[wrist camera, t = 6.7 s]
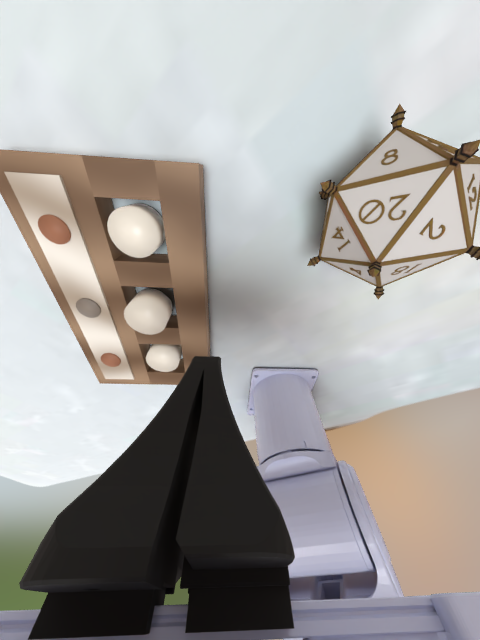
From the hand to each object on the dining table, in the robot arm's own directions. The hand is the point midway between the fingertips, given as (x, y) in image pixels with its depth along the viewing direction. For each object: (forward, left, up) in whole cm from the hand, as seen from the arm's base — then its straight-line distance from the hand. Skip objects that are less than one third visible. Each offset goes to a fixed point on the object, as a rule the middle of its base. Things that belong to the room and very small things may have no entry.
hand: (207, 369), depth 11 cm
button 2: (-7, +5, -9) cm, 13 cm away
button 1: (+5, +5, -9) cm, 12 cm away
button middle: (-1, +6, -8) cm, 10 cm away
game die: (+7, -10, -10) cm, 16 cm away
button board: (-1, +7, -9) cm, 12 cm away
